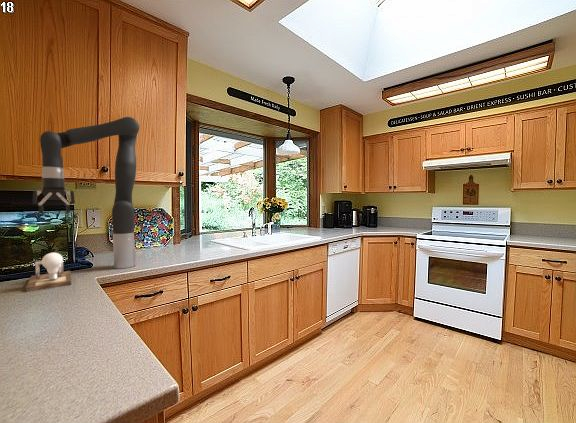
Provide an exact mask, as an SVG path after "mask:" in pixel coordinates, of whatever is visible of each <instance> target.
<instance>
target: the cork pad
mask: <svg viewBox="0 0 576 423" xmlns="http://www.w3.org/2000/svg"><path fill="white" fill-rule="evenodd" d="M59 282H66V276H65V277H58V278H57V279H55V280H50V279H43V280H37V281H36V284H35V286H39V285H45V284H52V283H59Z"/></svg>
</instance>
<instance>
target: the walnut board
mask: <svg viewBox="0 0 576 423" xmlns="http://www.w3.org/2000/svg"><path fill="white" fill-rule="evenodd" d="M63 272H64V273H62V277H65V276H66V282H59V283H52V284H45V285H39V286H35V284H36V281H37V280H43V279H49V273H44V274H40V278H39V279H36V274H35V275H31V276H30V278H29V280H28V282H27V284H26V287H25V291H26V292H34V291H39V290H40V291H41V290H45V289H52V288H57V287H58V288H59V287H65V286H70V285H72V282H71V279H72V278H71V270H66V271H63ZM57 277H58V272H57Z"/></svg>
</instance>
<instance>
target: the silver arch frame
mask: <svg viewBox="0 0 576 423" xmlns="http://www.w3.org/2000/svg"><path fill="white" fill-rule="evenodd" d="M62 258H63V259H64V257H63V256H62ZM34 265H35V275H36V279H39V278H40V275H41V274H40V273H41V272H40V265H43V264H42V260H38V261H37V260H36V261H34ZM64 272H65V271H64V261H63V262H62V264H61V265H60V267H59V269H58V277H62V273H64Z"/></svg>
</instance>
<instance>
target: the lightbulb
mask: <svg viewBox="0 0 576 423" xmlns="http://www.w3.org/2000/svg"><path fill="white" fill-rule="evenodd" d="M62 257H63V256H62V255H61V253H58V252H49V253H47V254H45V255H44V256H43V257H42V258H41V261H42V264H41V265H42V267H44V268H45V269H46V271H47V274H49V279H50V280H55V279H57V278H58V277H57V272H58V269H59V267H60V265H61V264H62V262H63V263H64V257H63V258H62Z"/></svg>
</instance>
